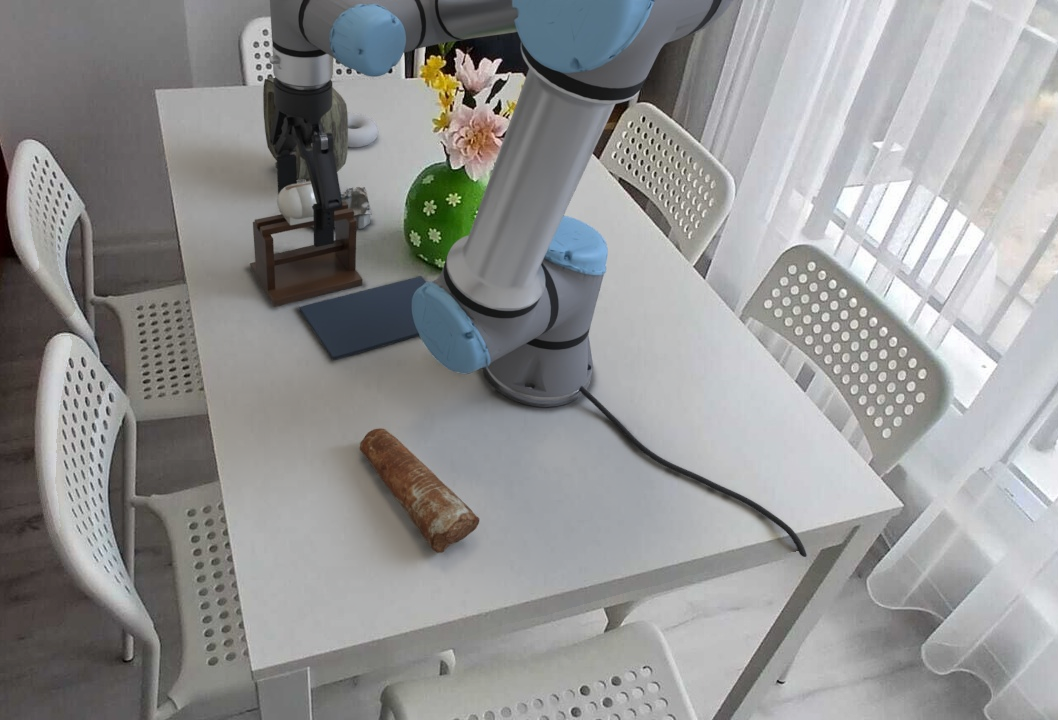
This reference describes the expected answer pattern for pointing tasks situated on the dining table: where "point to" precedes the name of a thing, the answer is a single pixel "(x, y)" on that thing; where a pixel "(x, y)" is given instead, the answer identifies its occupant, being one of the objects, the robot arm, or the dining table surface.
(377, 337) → the mat
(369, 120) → the donut
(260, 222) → the rack
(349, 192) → the egg carton
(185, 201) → the dining table surface
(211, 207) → the dining table surface
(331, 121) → the tabletop clock
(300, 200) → the white dome-topped canister
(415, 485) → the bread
